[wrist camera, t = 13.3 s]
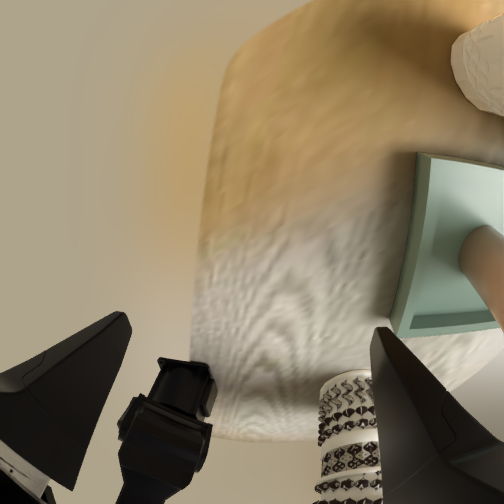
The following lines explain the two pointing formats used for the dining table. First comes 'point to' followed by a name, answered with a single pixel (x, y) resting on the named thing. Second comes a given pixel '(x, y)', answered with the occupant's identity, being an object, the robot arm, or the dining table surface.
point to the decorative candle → (349, 441)
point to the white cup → (481, 65)
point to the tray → (445, 246)
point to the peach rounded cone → (485, 267)
